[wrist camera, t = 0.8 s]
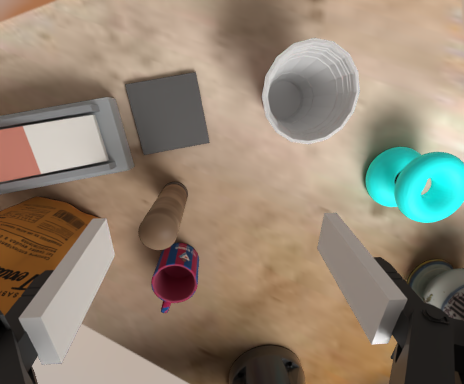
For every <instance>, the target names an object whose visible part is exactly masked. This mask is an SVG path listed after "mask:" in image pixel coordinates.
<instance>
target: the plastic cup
mask: <svg viewBox="0 0 464 384" xmlns="http://www.w3.org/2000/svg"><path fill="white" fill-rule="evenodd" d="M359 93H360V88H359V74H358V70H357V68H356V66H355V64H354V62H353V60H352V58H351V56H350V54H349V53H348V52H347V51H345V50H344V49H343V48H341V47H340V46H339V45H338V44H336V43H335V42H334V41H328V40H323V39H318V38H311V39H308V40H304V41H300V42H297V43H294V44H292V45H291V46H290V47H288V48H287V49H286V50H285V51H283V52H282V53H281V54H280V55H278V56H277V57H276V59H275V61H274V62H273V64H272V66H271V67H270V69H269V71H268V73H267V74H266V76H265V82H264V88H263V93H262V100H263V105H264V110H265V115H266V118H267V119H268V121H269V122H270V124H271V125H272V127H273V128H274V130H275V131H276V132H277V133H278V134H280V135H281V136H283V137H284V138H286V139H288V140H289V141H291V142H297V143H304V144H311V143H315V142H319V141H323V140H327V139H328V138H329V137H331V136H332V135H334V134H335V133H337V132H338V131H339V130H341V129H342V128H343V127H344V125H345V124H346V122H347V121H348V120H349V118H350V117H351V115H352V114H353V113H354V110H355V107H356V103H357V100H358V96H359Z"/></svg>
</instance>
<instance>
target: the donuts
mask: <svg viewBox="0 0 464 384" xmlns="http://www.w3.org/2000/svg"><path fill="white" fill-rule="evenodd" d="M399 172H401V173H400V174H399V176H398V178H397V181H396V184H395V177H396V175H397V174H398V173H399ZM429 178H431V187H430V189H429V190H428V192H427V193H425V194H423V195H421V192H422V190H423V189H424V187H425V185H426V182H427V179H429ZM366 188H367V191H368V193H369V195H370V196H371V198H372V199H373V200H374V201H376V202H377V203H379V204H381V205H384V206H388V207H397V206H398V208H399V210H400V211H401V212H402V213H403V214H404V215H405V216H406V217H408V218H410V219H412V220H414V221H417V222H423V223H429V222H436V221H439V220H442V219H444V218H446V217H448V216H450V215H451V214H452V213H454V212H455V211H456V210H457V209H458V208H459V207H460V206H461V204H462V203H463V201H464V163H463V162H462V161H461V160H460V159H459V158H457V157H456V156H454V155H452V154H449V153H444V152H431V153H427V154H424V155H421V154H420V153H418V152H417V151H415V150H414V149H411V148H408V147H394V148H391V149H388V150H386V151H384V152H382V153H381V154H379V155H378V156H377V157H376V158H375V159H374V160H373V161H372V163H371V164H370V166H369V168H368V171H367V174H366Z"/></svg>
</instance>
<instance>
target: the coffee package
mask: <svg viewBox="0 0 464 384" xmlns="http://www.w3.org/2000/svg"><path fill="white" fill-rule="evenodd" d="M95 218H99V217H95V216H93V215H89V214H86V213H83V212H81V211H79V210H78V209H76V208H75V207H73V206H72V205H70V204H68V203H66V202H62V201H56V200H51V199H47V198H43V197H33V198H31V199H28V200H26V201H24V202H22V203H20V204H17V205H15V206H12V207H9V208H7V209H4V210H3V211H0V310H1V312H2V313H3V314H4V316H5V315H6V313H7V312H8V311H9V310H10V308H11V307H12V306H13V305H14V303H15V302H16V301H17V300H18V298H19V297H21V295H22V293H23V292H24V291H25V290H26V289H27V287H28V286H29V285H30V284H31V282H32V281H33V280H34V279H35V278H36V277H37V276H39V275H40V274H41V273H43V272H44V271H45V270H55V269H56V267H57V266H58V265H59V263H60V262H61V261H62V259H63V258H64V257H65V255H66V254H67V253H68V251H69V250H70V249H71V247H72V246H73V244H74V243H75V242H76V240H77V239H78V238H79V236H80V235H81V234H82V232H83V231H84V230H85V228H86V227H87V226H88V224H89V223H90V222H91V220H92V219H95Z"/></svg>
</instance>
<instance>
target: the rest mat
mask: <svg viewBox="0 0 464 384" xmlns="http://www.w3.org/2000/svg"><path fill="white" fill-rule="evenodd" d="M125 86H126V90H127V94H128V98H129V101H130V105H131V109H132V112H133V116H134V120H135V123H136V127H137V131H138V135H139V138H140V142H141V146H142V149H143V153H144V155H147V154H152V153H158V152H163V151H168V150H174V149H179V148H184V147H190V146H195V145H200V144H206V143H210V142H209V137H208V132H207V127H206V122H205V117H204V112H203V107H202V102H201V97H200V92H199V87H198V82H197V77H196V72H194V73H188V74H182V75H177V76H171V77H165V78H160V79H154V80H148V81H142V82H137V83H131V84H125Z"/></svg>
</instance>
